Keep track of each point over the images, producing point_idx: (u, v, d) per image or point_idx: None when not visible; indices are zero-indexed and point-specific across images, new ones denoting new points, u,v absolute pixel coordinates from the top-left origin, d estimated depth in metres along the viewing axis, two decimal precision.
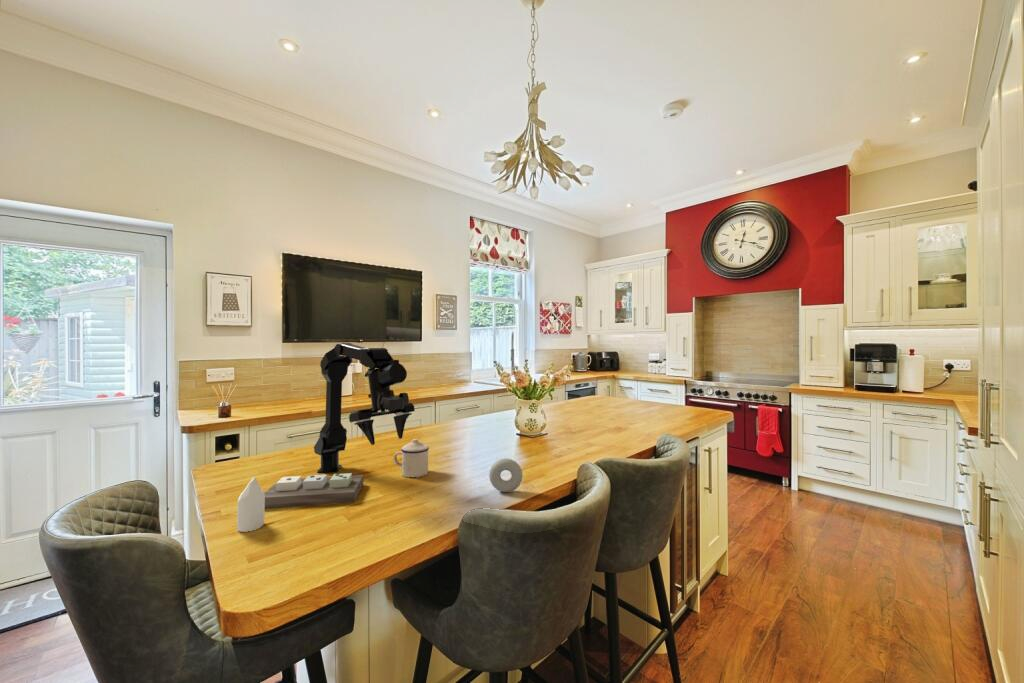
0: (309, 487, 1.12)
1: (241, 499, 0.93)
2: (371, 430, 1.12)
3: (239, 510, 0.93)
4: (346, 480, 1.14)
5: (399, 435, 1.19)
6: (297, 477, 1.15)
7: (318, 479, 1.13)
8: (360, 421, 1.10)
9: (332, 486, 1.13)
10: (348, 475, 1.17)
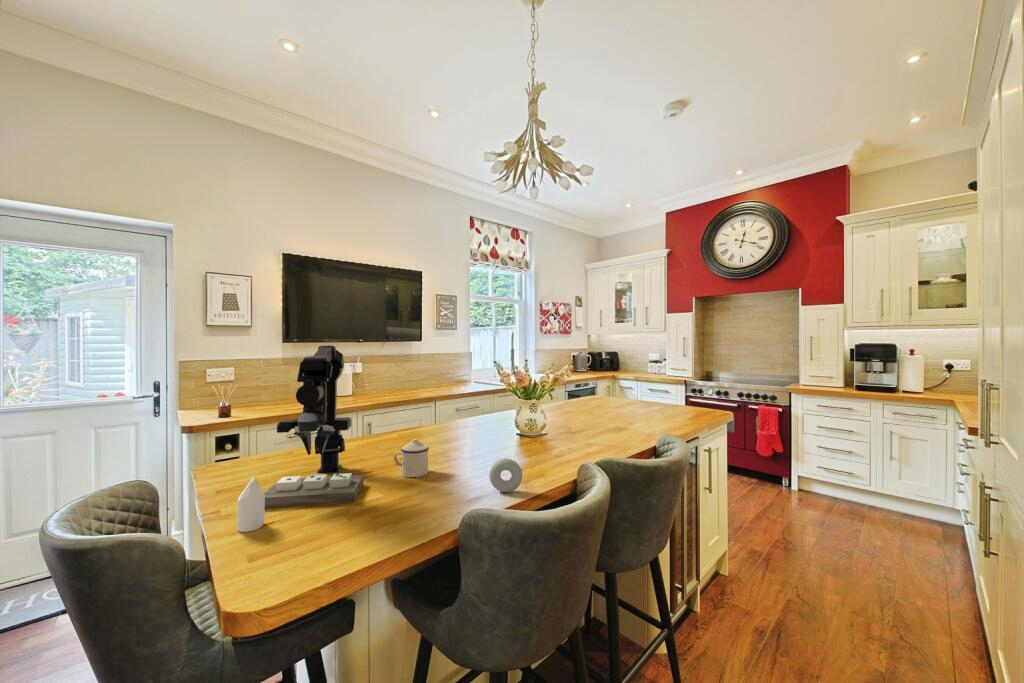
0: (309, 487, 1.12)
1: (241, 499, 0.93)
2: (306, 442, 1.13)
3: (239, 510, 0.93)
4: (346, 480, 1.14)
5: None
6: (297, 477, 1.15)
7: (318, 479, 1.13)
8: None
9: (332, 486, 1.13)
10: (348, 475, 1.17)
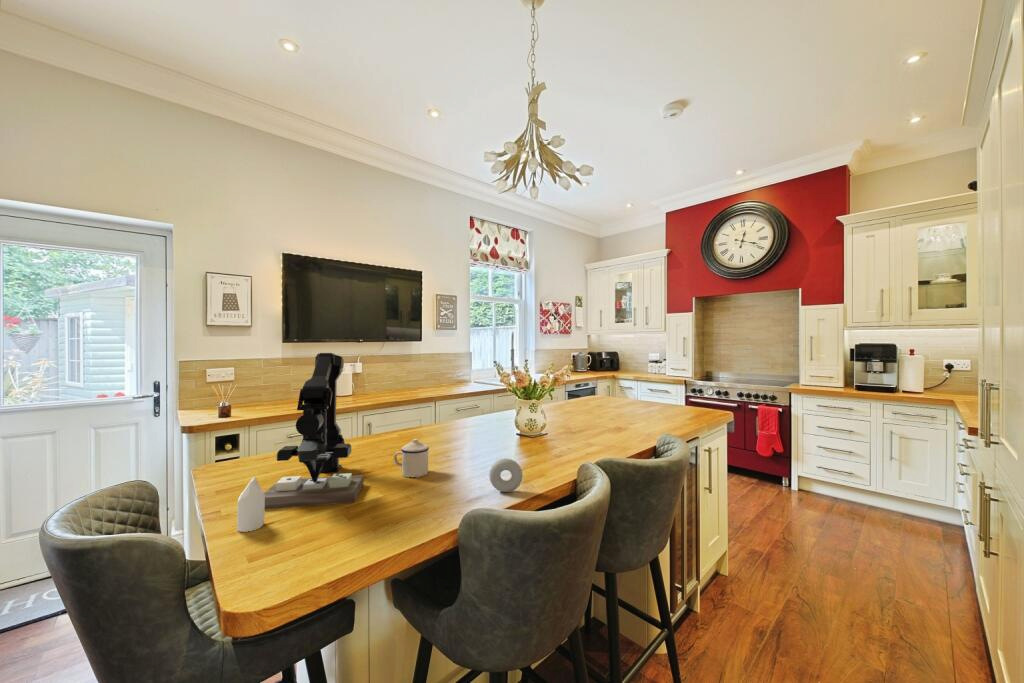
0: None
1: (241, 499, 0.93)
2: (311, 469, 1.13)
3: (239, 510, 0.93)
4: (346, 480, 1.14)
5: None
6: (297, 477, 1.15)
7: (318, 483, 1.13)
8: None
9: (332, 486, 1.13)
10: (348, 475, 1.17)
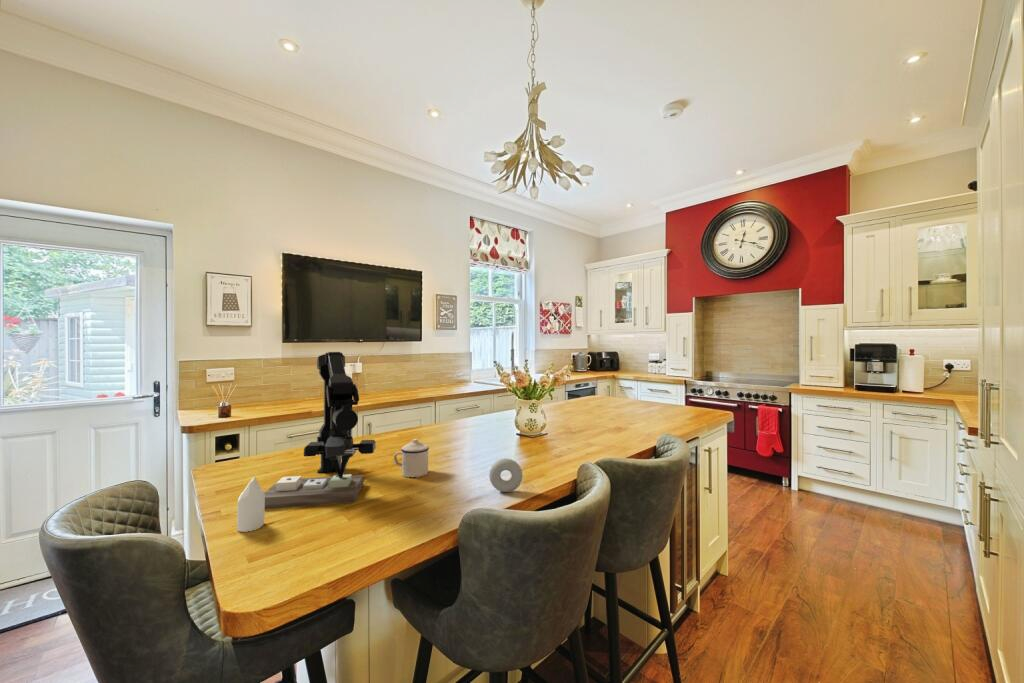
0: None
1: (241, 499, 0.93)
2: (337, 464, 1.14)
3: (239, 510, 0.93)
4: (346, 481, 1.14)
5: None
6: (297, 477, 1.15)
7: (318, 483, 1.13)
8: None
9: (332, 487, 1.13)
10: (348, 476, 1.17)
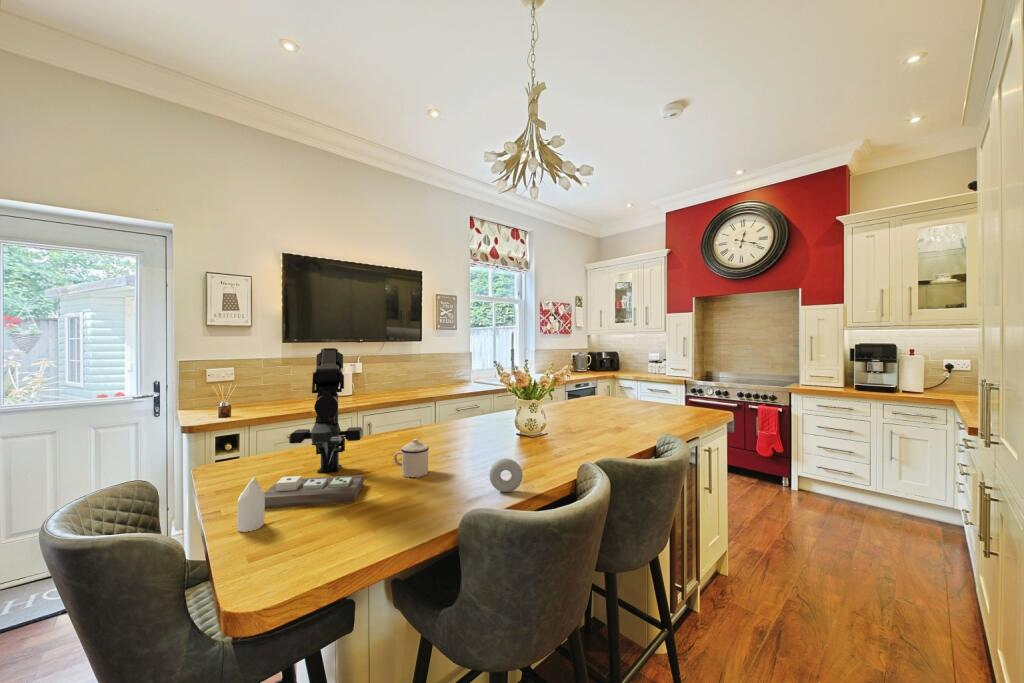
0: None
1: (241, 499, 0.93)
2: (323, 452, 1.14)
3: (239, 510, 0.93)
4: (346, 484, 1.14)
5: None
6: (297, 477, 1.15)
7: (318, 483, 1.13)
8: None
9: None
10: (348, 479, 1.17)
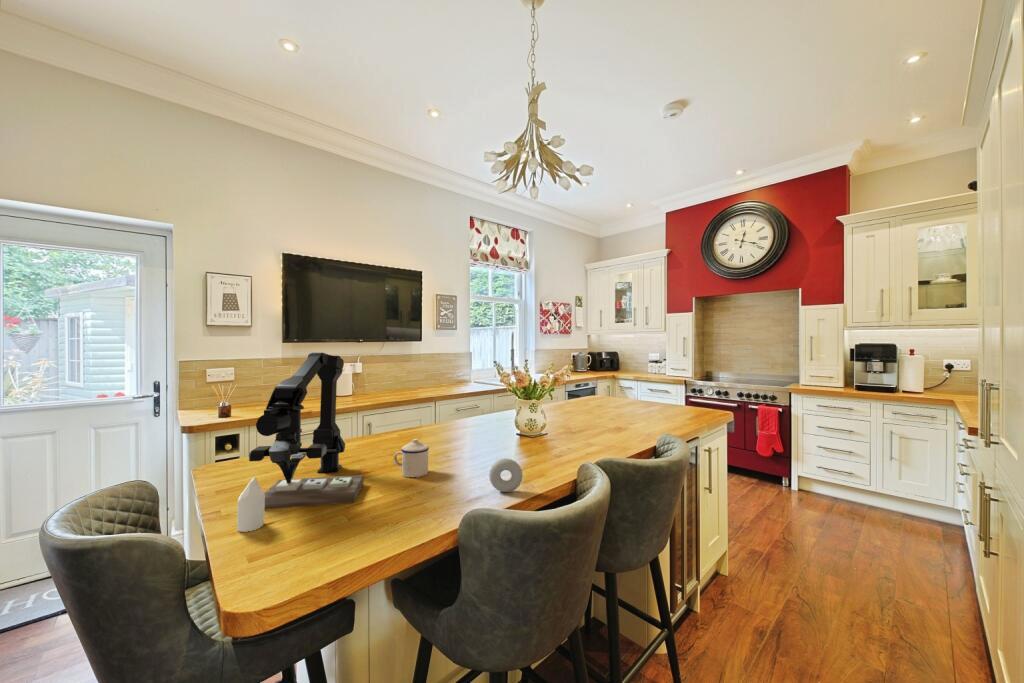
0: None
1: (241, 499, 0.93)
2: (284, 469, 1.12)
3: (239, 510, 0.93)
4: (346, 484, 1.14)
5: None
6: (297, 480, 1.15)
7: (318, 483, 1.13)
8: None
9: None
10: (348, 479, 1.17)
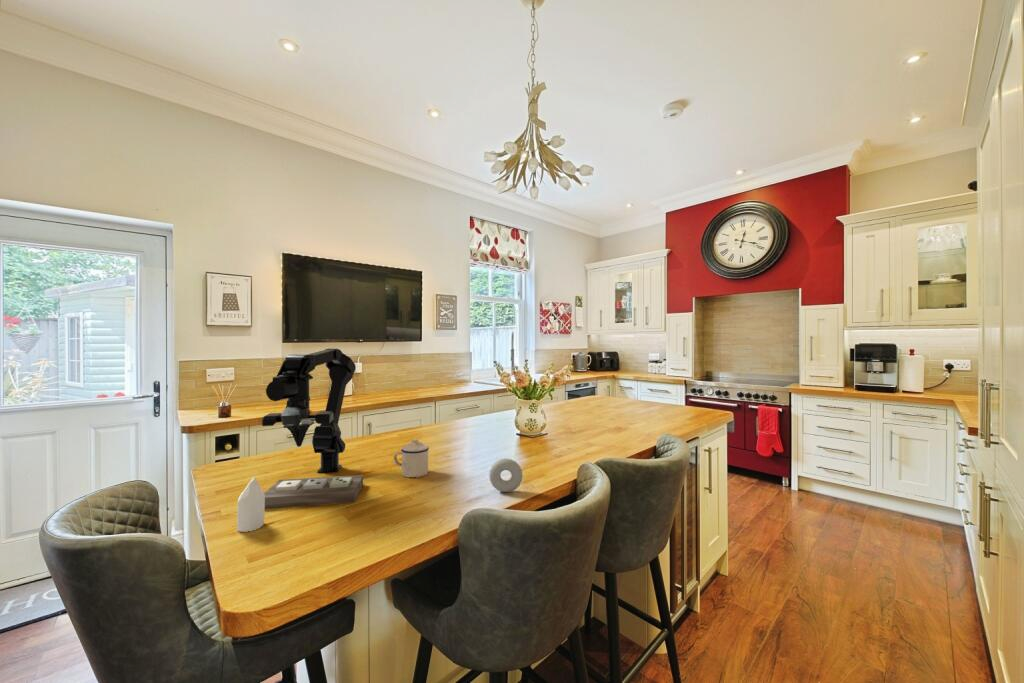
0: None
1: (241, 499, 0.93)
2: (295, 434, 1.20)
3: (239, 510, 0.93)
4: (346, 484, 1.14)
5: None
6: (297, 481, 1.15)
7: (318, 483, 1.13)
8: None
9: None
10: (348, 479, 1.17)
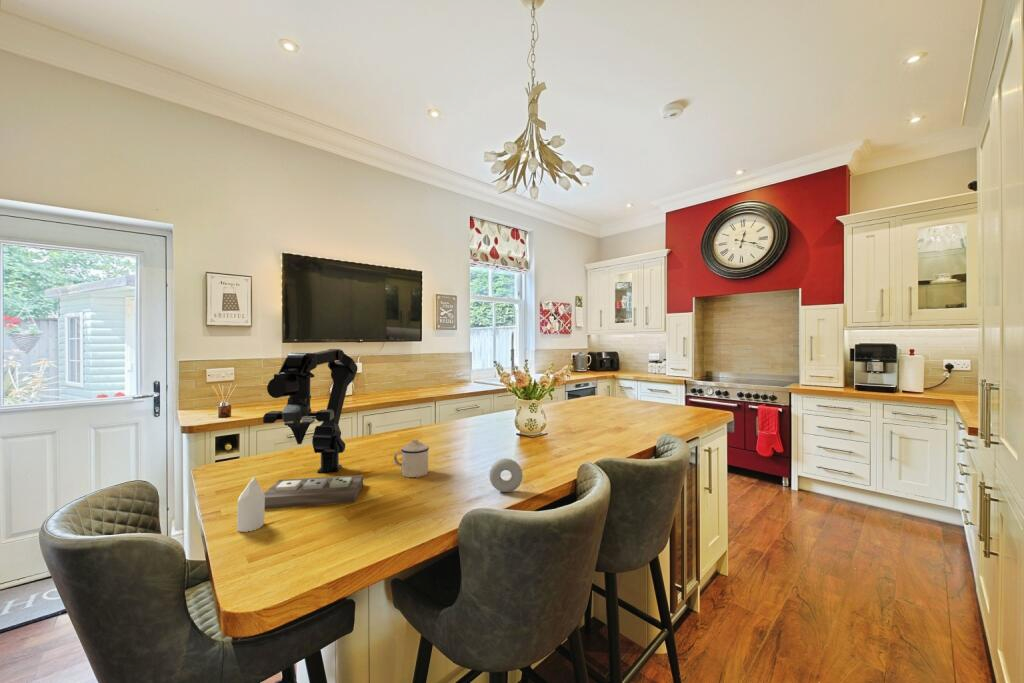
0: None
1: (241, 499, 0.93)
2: (295, 432, 1.21)
3: (239, 510, 0.93)
4: (346, 484, 1.14)
5: None
6: (297, 481, 1.15)
7: (318, 483, 1.13)
8: None
9: None
10: (348, 479, 1.17)
